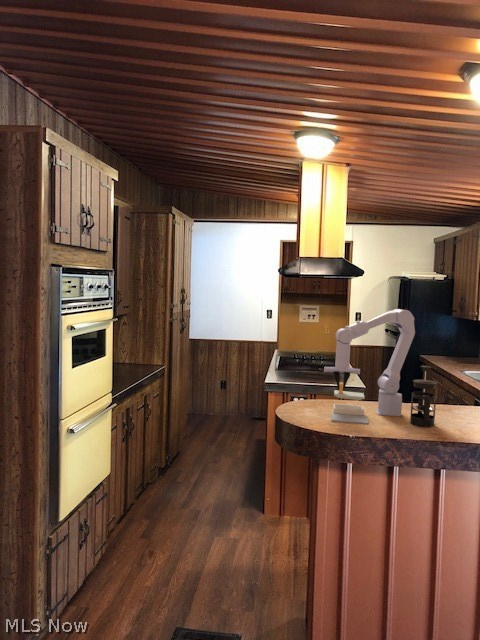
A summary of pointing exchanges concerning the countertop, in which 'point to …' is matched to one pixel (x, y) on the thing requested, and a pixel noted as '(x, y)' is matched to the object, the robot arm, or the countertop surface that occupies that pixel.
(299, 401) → the countertop surface
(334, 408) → the tub
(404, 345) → the robot arm
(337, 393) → the lid
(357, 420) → the mat
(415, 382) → the french press
